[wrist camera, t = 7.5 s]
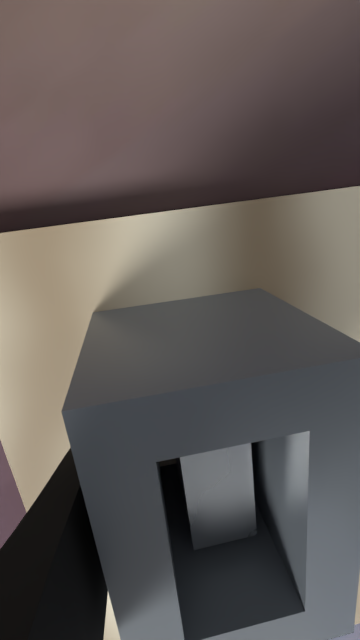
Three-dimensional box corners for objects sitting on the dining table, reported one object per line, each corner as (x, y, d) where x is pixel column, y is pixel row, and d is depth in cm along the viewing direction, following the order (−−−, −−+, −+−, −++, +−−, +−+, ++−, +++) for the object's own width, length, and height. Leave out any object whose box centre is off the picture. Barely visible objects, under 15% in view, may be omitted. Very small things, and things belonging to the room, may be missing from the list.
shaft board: (433, 176, 11) (462, 172, 10) (385, 589, 17) (400, 611, 16) (-51, 239, 9) (-71, 242, 8) (95, 670, 16) (94, 699, 15)
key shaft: (209, 348, 10) (249, 411, 7) (219, 442, 11) (257, 534, 8) (159, 357, 10) (174, 426, 7) (173, 452, 11) (194, 550, 8)
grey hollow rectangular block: (260, 287, 10) (381, 354, 5) (265, 471, 12) (354, 632, 8) (92, 312, 9) (61, 411, 5) (130, 500, 12) (135, 694, 7)
